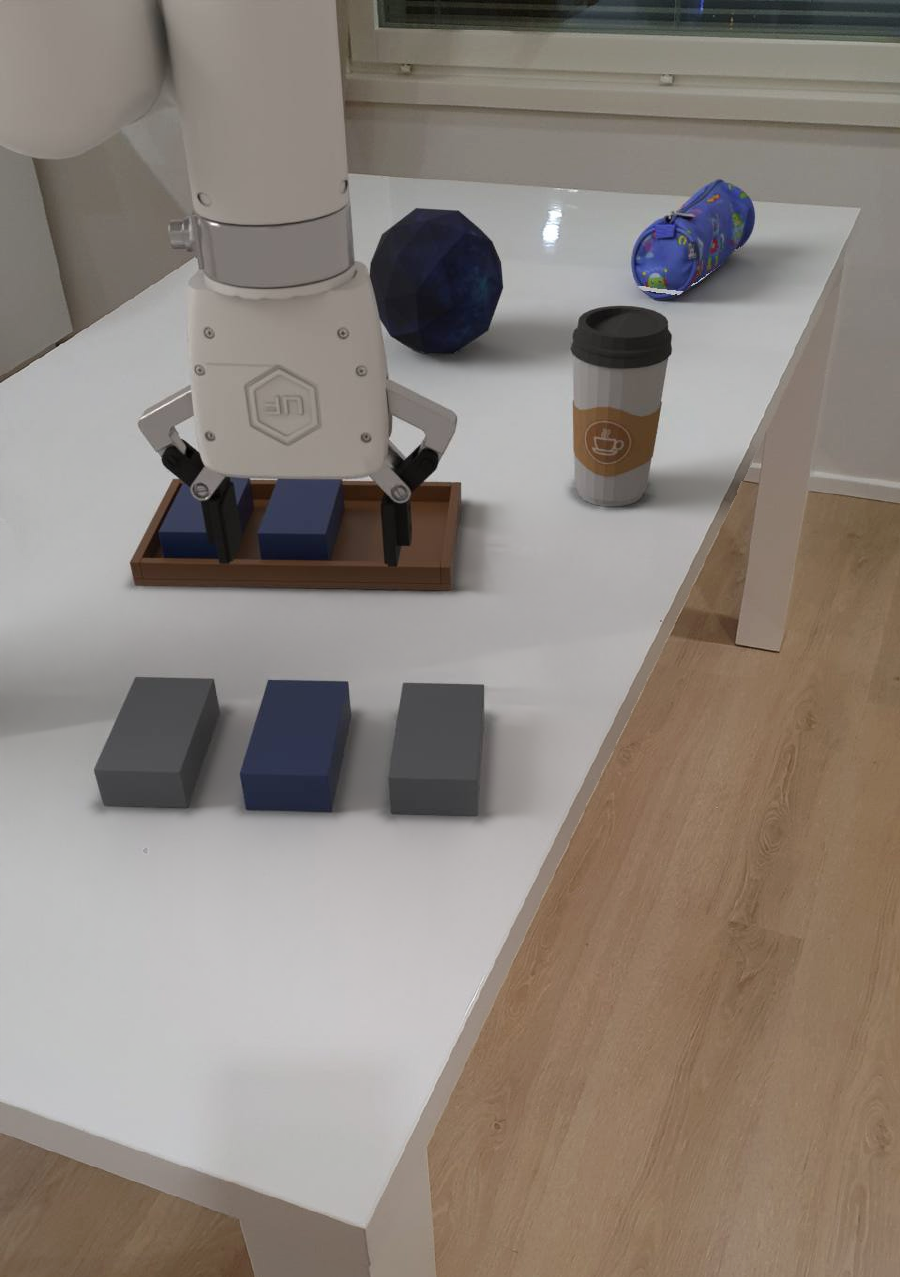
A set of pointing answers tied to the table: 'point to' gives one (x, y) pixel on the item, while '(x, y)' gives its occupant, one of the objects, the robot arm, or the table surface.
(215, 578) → the book tray
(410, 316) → the decorative orb
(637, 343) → the coffee cup
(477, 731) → the grey book
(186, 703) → the grey book
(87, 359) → the table surface
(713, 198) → the pencil case
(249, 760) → the navy book
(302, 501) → the navy book
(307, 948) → the table surface
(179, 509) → the navy book
